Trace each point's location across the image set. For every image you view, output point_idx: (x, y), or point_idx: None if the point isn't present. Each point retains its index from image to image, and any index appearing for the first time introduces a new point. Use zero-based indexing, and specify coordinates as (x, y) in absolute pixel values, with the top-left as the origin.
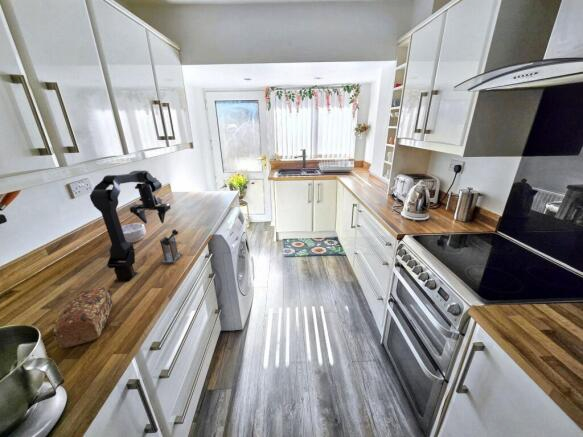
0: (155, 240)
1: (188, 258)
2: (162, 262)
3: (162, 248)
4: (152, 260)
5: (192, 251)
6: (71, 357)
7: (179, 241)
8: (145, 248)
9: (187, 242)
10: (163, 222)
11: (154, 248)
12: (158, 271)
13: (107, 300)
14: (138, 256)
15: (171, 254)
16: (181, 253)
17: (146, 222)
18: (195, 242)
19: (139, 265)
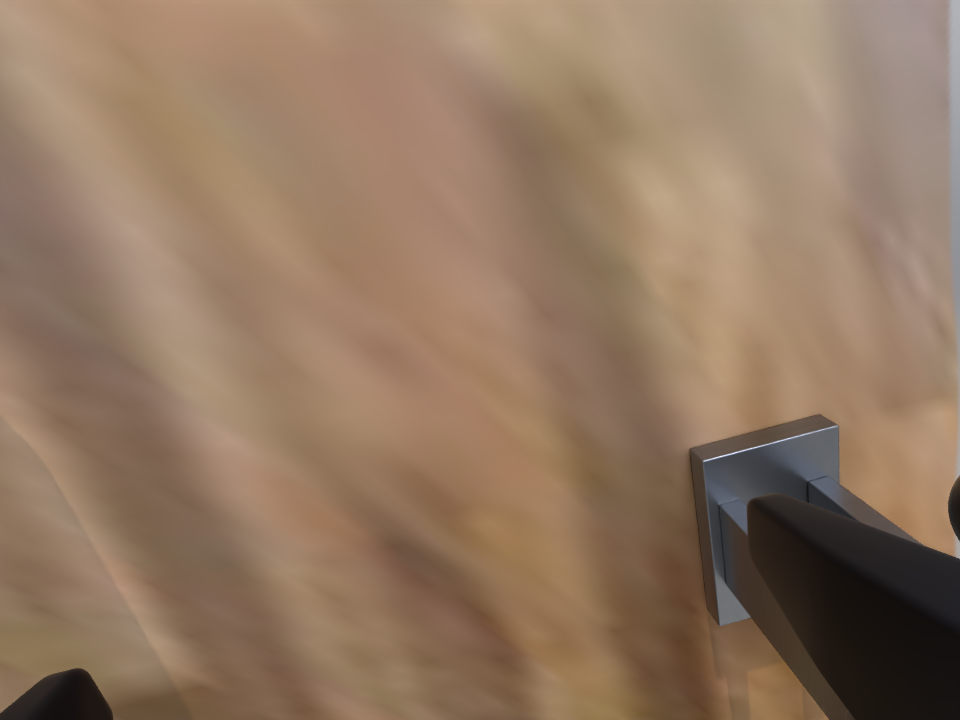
0: (86, 112)
1: (921, 458)
2: (728, 621)
3: (828, 706)
4: (556, 583)
5: (907, 316)
6: None
7: (564, 67)
8: (202, 392)
9: (719, 78)
10: (787, 510)
11: (339, 362)
12: (746, 688)
13: None
14: (315, 566)
15: (735, 485)
16: (836, 432)
17: (78, 708)
18: (846, 53)
19: (495, 677)
